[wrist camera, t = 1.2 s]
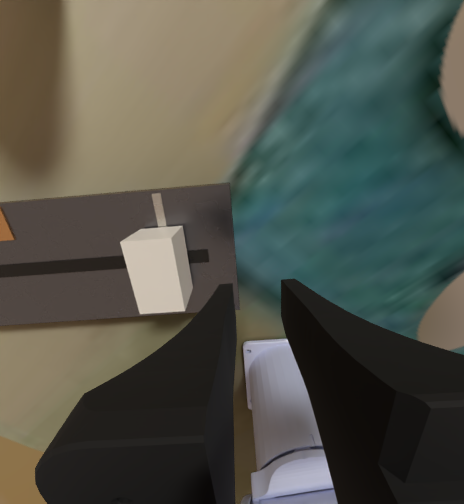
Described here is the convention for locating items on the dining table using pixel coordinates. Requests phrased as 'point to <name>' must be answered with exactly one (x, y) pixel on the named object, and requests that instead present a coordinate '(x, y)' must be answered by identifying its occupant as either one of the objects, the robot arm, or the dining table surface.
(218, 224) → the panel
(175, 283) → the fader
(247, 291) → the dining table surface
